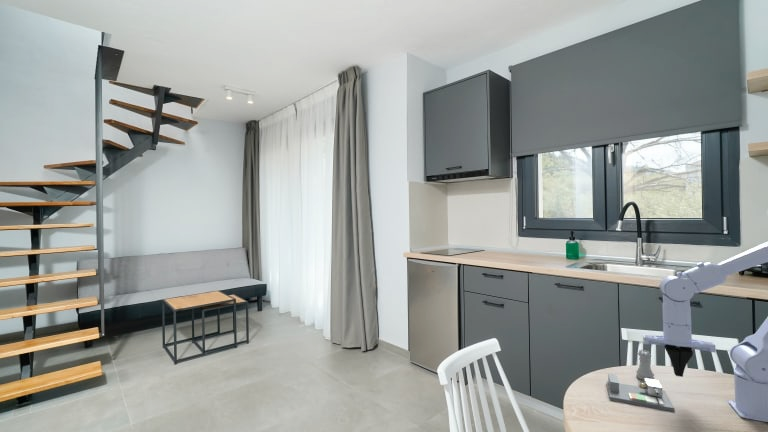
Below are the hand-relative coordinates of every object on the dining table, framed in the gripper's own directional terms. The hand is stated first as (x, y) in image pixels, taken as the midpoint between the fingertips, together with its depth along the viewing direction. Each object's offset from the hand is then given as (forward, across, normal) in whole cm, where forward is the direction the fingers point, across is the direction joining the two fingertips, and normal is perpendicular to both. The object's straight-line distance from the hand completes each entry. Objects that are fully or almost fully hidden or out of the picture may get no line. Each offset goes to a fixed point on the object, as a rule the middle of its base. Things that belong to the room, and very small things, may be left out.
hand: (678, 374), depth 92 cm
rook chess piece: (+7, +5, -12) cm, 15 cm away
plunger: (+6, +6, +1) cm, 8 cm away
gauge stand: (+7, +9, +2) cm, 11 cm away
